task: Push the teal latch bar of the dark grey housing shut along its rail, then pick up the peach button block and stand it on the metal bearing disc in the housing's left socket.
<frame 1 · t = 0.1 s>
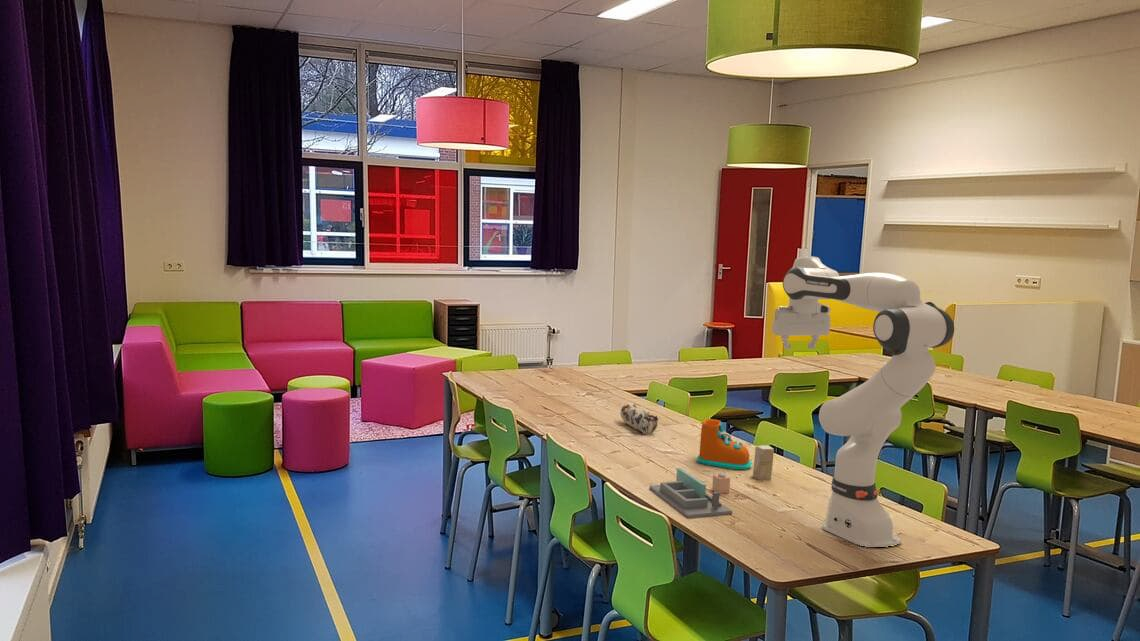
hand: (799, 349, 252), 48 cm above the table, tool pointing down, fingers open, 8 cm apart
housing: (689, 500, 245), on the table
peach button block: (720, 491, 256), on the table
box: (762, 478, 272), on the table
pencil case: (637, 429, 330), on the table
latch: (690, 482, 251), point 4 cm above the table, slide at 6.0 cm
toy shoe: (723, 464, 286), on the table
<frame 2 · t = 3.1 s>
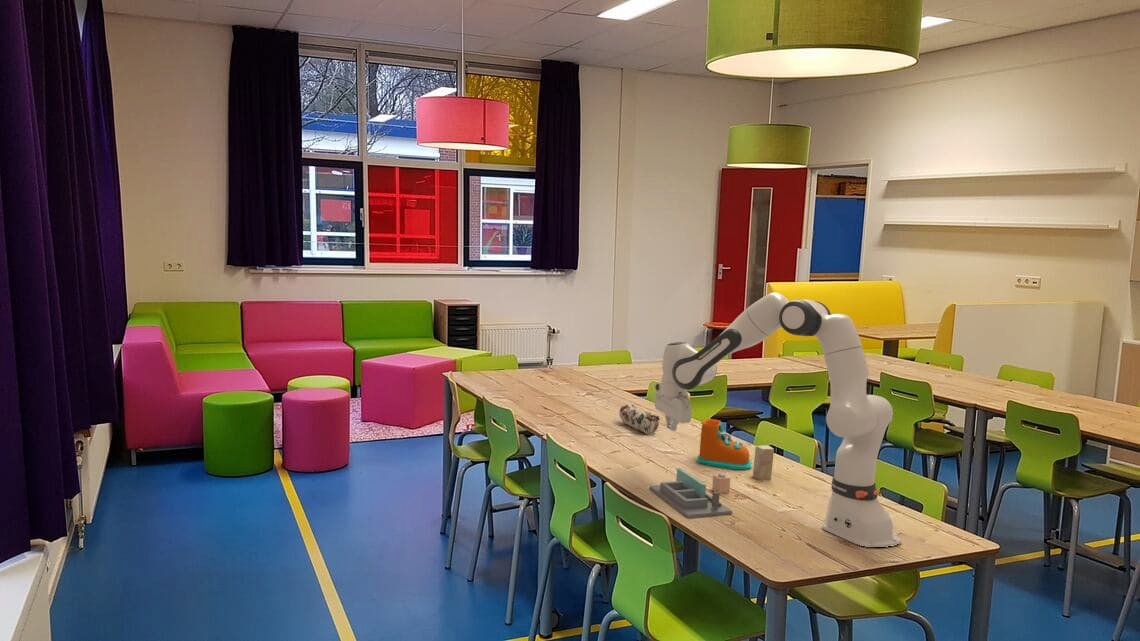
hand: (671, 429, 264), 17 cm above the table, tool pointing down, fingers closed
nothing on the table moved.
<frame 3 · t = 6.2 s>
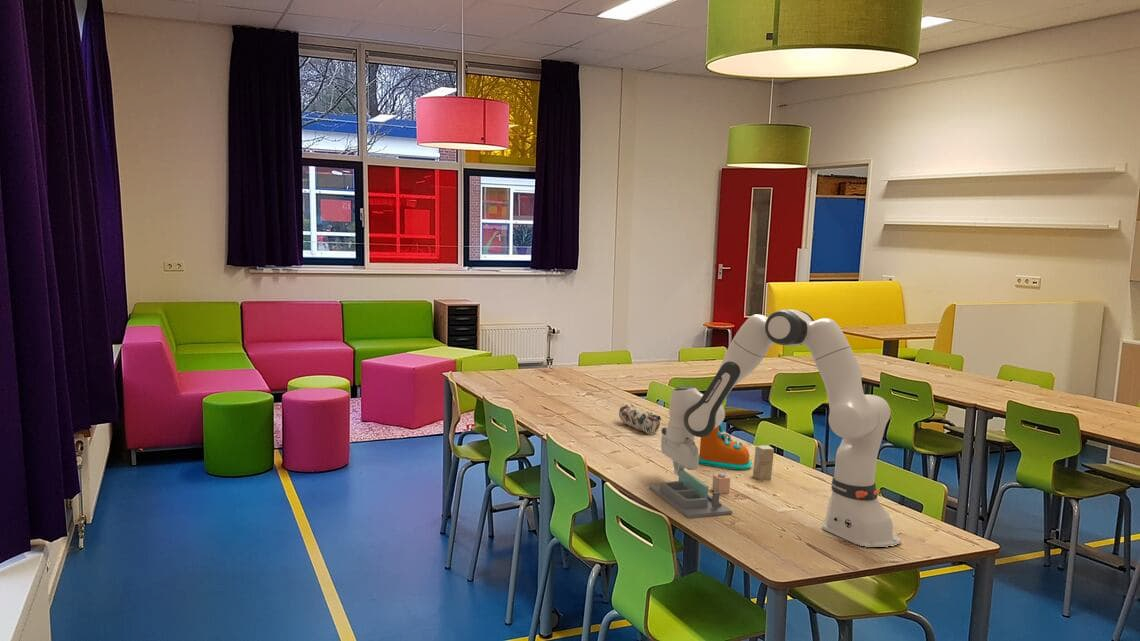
hand: (678, 474, 260), 3 cm above the table, tool pointing down, fingers closed
latch: (693, 484, 250), point 4 cm above the table, slide at 4.4 cm, touching gripper
everything else where it was.
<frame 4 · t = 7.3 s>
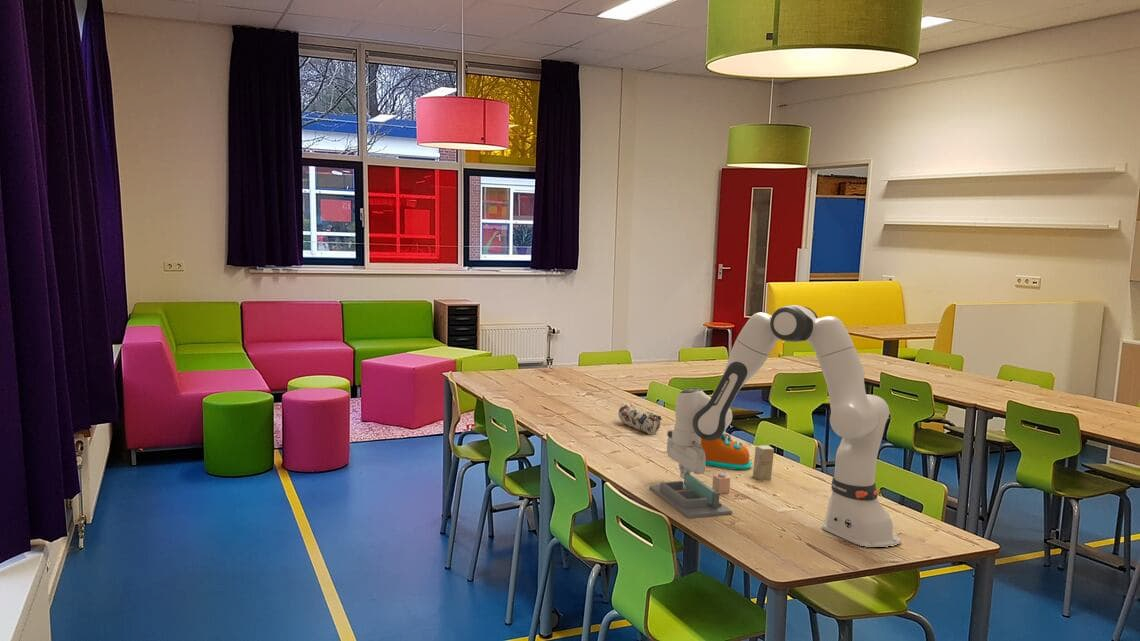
hand: (684, 478, 255), 4 cm above the table, tool pointing down, fingers closed
latch: (699, 488, 246), point 4 cm above the table, slide at 0.0 cm, touching gripper
everything else where it was.
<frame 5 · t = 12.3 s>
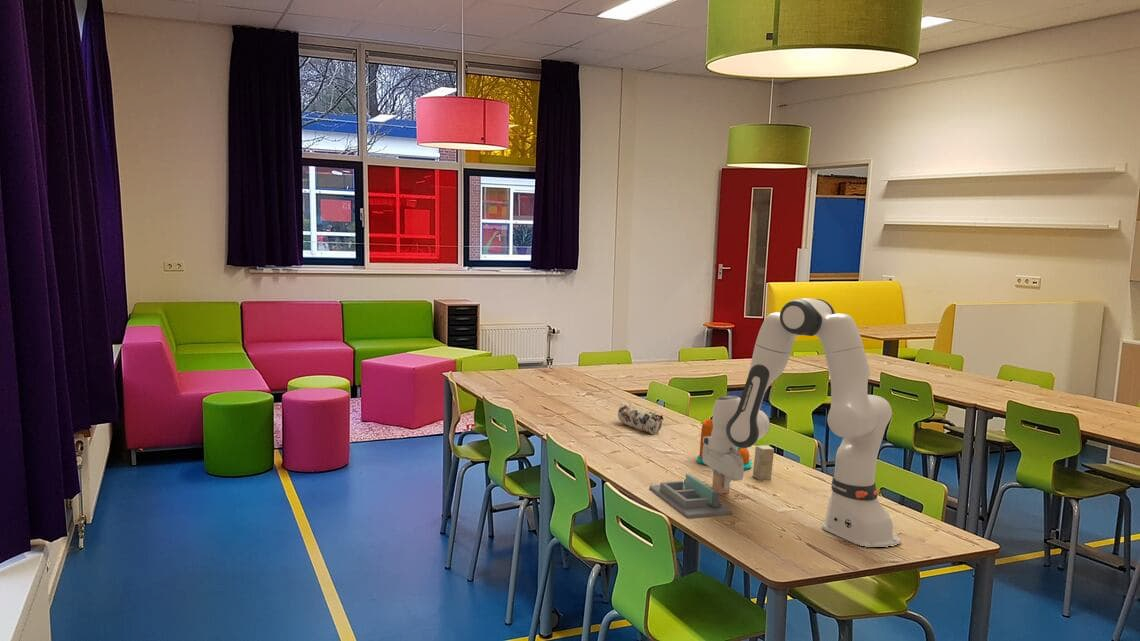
hand: (721, 485, 256), 2 cm above the table, tool pointing down, fingers closed on peach button block, 4 cm apart
peach button block: (720, 490, 256), on the table, touching gripper
latch: (699, 488, 246), point 4 cm above the table, slide at 0.0 cm
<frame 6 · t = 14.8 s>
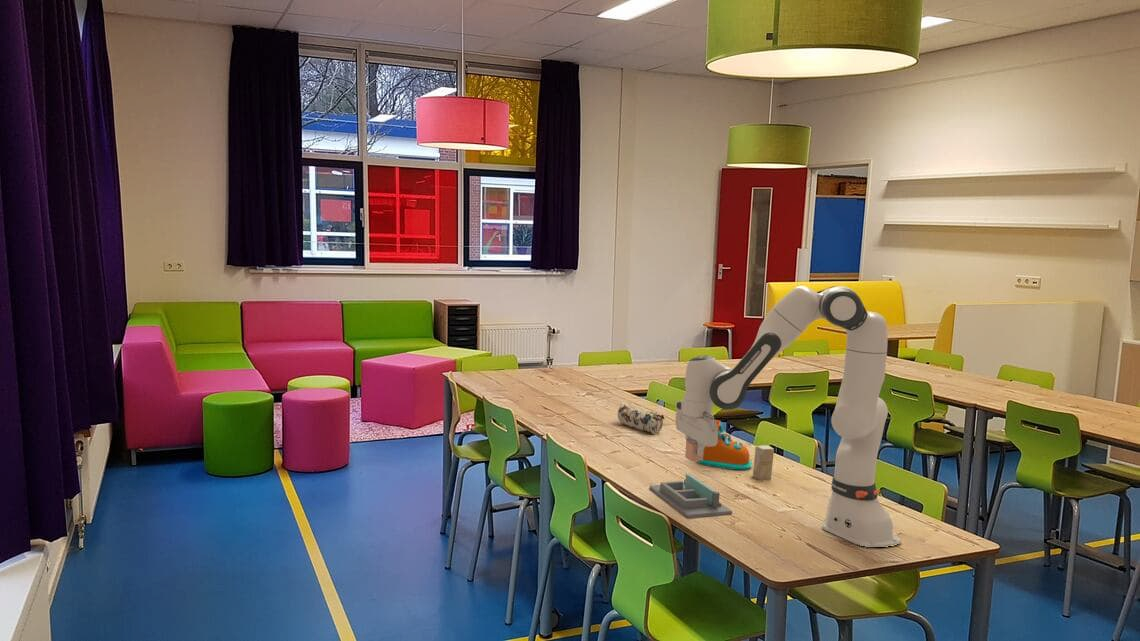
hand: (694, 452, 239), 17 cm above the table, tool pointing down, fingers closed on peach button block, 4 cm apart
peach button block: (694, 458, 239), point 15 cm above the table, touching gripper
when the fingers open (5 cm above the table, at t = 17.3 s): peach button block drops 1 cm, resting on housing.
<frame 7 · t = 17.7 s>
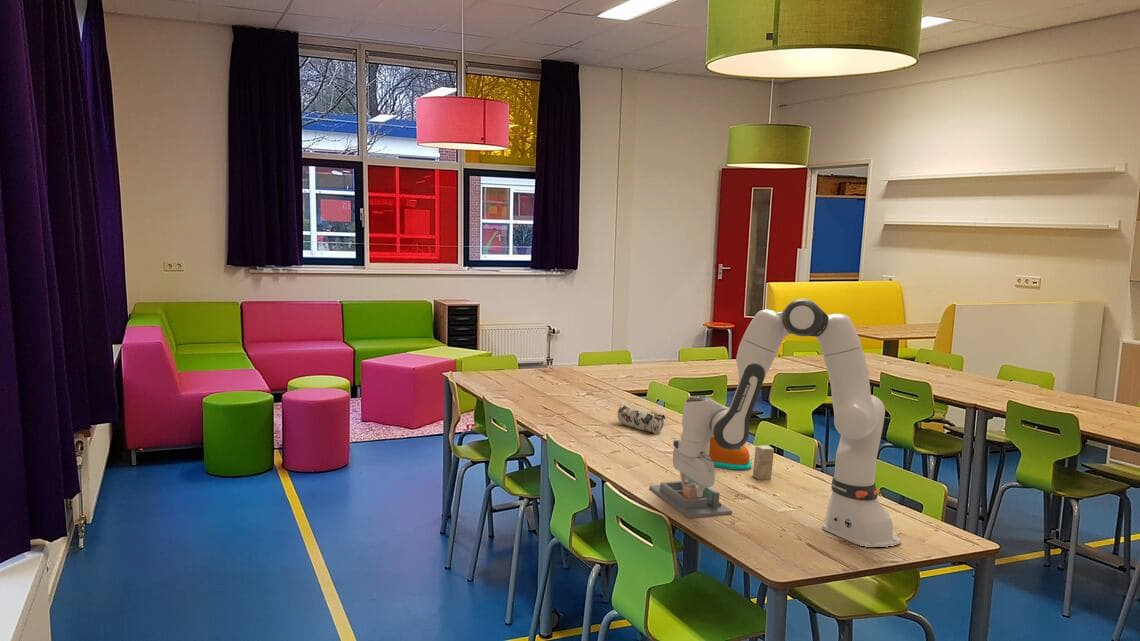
hand: (691, 491, 240), 5 cm above the table, tool pointing down, fingers open, 7 cm apart
peach button block: (691, 501, 241), point 1 cm above the table, touching housing
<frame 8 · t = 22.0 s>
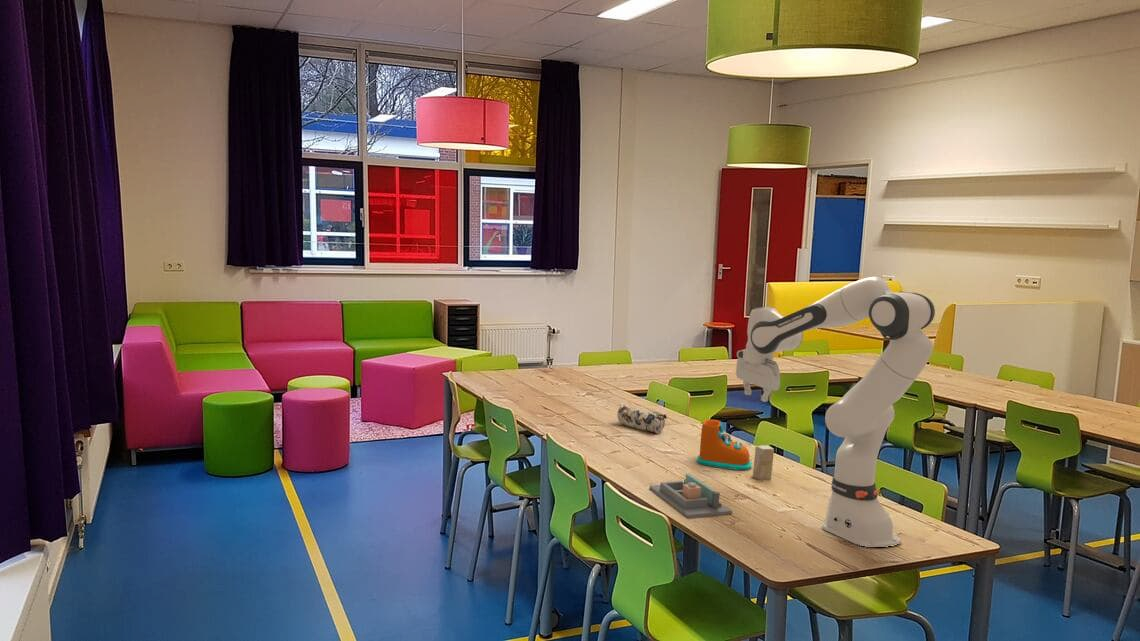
hand: (755, 397, 254), 31 cm above the table, tool pointing down, fingers open, 8 cm apart
at the end: peach button block 0.1 cm from the target spot on the housing, point 1.3 cm above the housing's base; peach button block tilted 0°; latch slide at 0.0 cm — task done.
